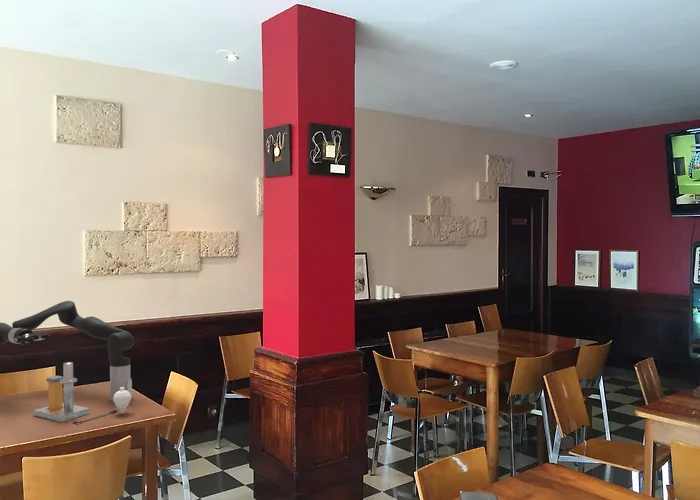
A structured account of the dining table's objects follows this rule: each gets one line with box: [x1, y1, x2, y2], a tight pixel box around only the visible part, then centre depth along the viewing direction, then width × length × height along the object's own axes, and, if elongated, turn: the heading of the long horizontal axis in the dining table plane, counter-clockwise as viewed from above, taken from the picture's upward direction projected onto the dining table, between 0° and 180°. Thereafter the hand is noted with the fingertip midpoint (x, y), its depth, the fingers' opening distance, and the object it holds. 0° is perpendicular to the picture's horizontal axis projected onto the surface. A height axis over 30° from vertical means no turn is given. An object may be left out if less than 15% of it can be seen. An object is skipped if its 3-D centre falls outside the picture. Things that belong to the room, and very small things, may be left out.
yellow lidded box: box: [45, 375, 63, 411], centre depth 268 cm, size 5×5×16 cm
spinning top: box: [112, 387, 132, 415], centre depth 268 cm, size 8×8×12 cm
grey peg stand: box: [33, 361, 90, 423], centre depth 266 cm, size 19×14×24 cm
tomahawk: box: [72, 409, 118, 426], centre depth 261 cm, size 21×7×1 cm, turn 146°
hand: (41, 338), depth 278 cm, fingers open, 8 cm apart
